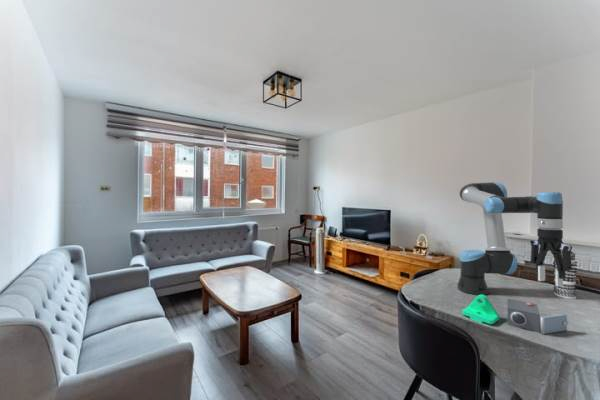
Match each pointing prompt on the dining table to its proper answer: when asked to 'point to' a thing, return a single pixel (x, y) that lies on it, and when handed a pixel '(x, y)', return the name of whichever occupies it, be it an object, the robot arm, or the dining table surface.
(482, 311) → the camera mount
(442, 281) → the dining table surface
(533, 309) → the housing
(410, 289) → the dining table surface
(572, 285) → the decorative candle
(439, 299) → the dining table surface
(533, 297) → the dining table surface
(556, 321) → the side door
